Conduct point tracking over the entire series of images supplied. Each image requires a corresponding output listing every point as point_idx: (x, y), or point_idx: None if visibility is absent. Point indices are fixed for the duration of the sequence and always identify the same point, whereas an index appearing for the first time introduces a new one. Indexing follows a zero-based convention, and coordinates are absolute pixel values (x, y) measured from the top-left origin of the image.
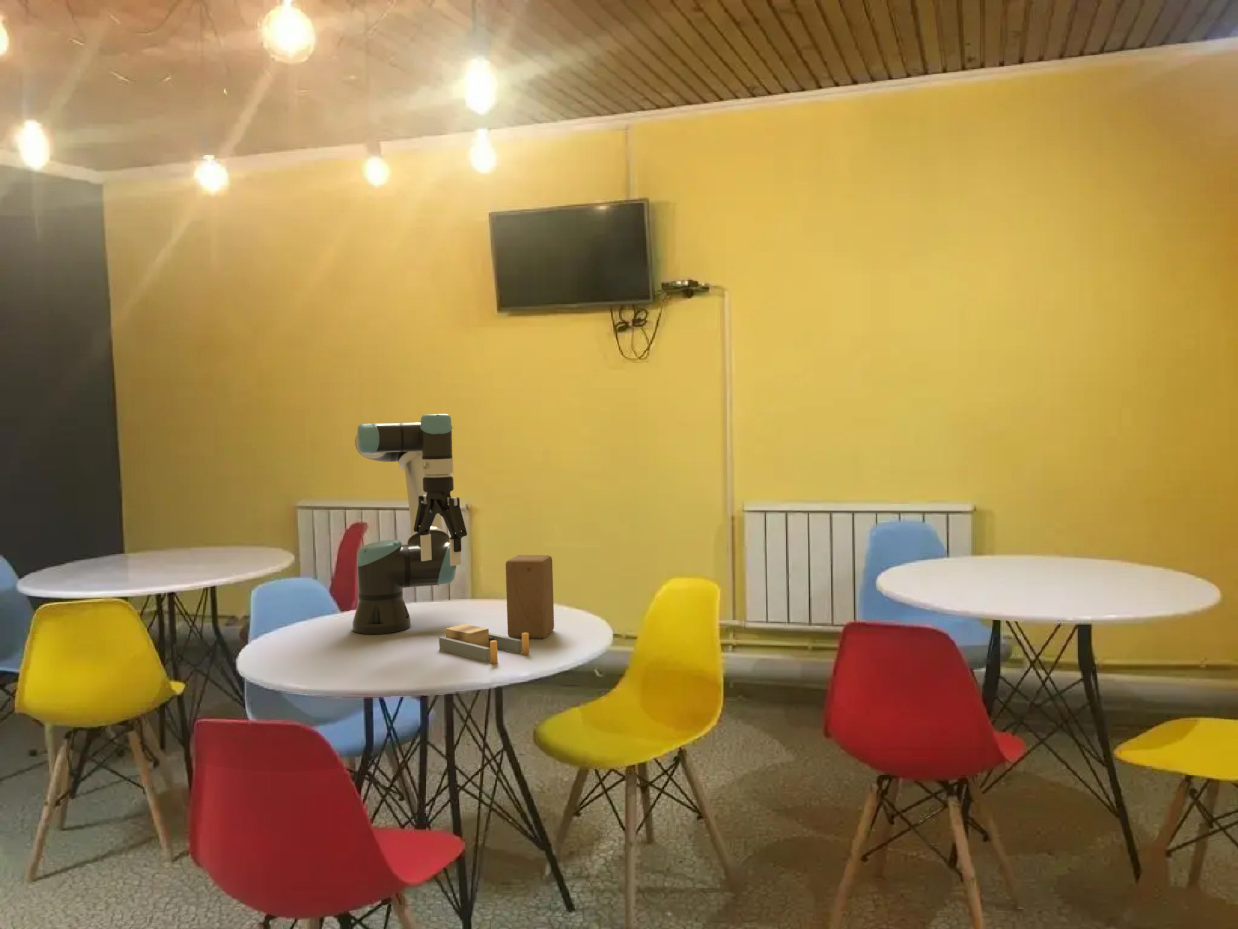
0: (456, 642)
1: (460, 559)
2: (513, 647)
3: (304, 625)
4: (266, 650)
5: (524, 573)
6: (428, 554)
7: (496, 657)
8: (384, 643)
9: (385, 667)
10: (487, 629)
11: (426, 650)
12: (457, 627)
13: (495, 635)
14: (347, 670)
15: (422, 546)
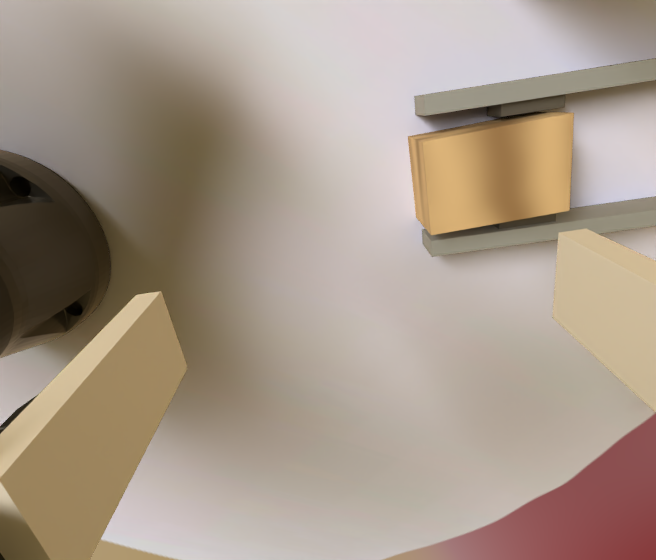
0: (527, 243)
1: (613, 246)
2: None
3: None
4: (119, 521)
5: None
6: (152, 346)
7: None
8: (229, 322)
9: (464, 409)
10: (571, 118)
11: (395, 272)
12: (451, 194)
13: (575, 87)
14: (418, 467)
15: (138, 463)
